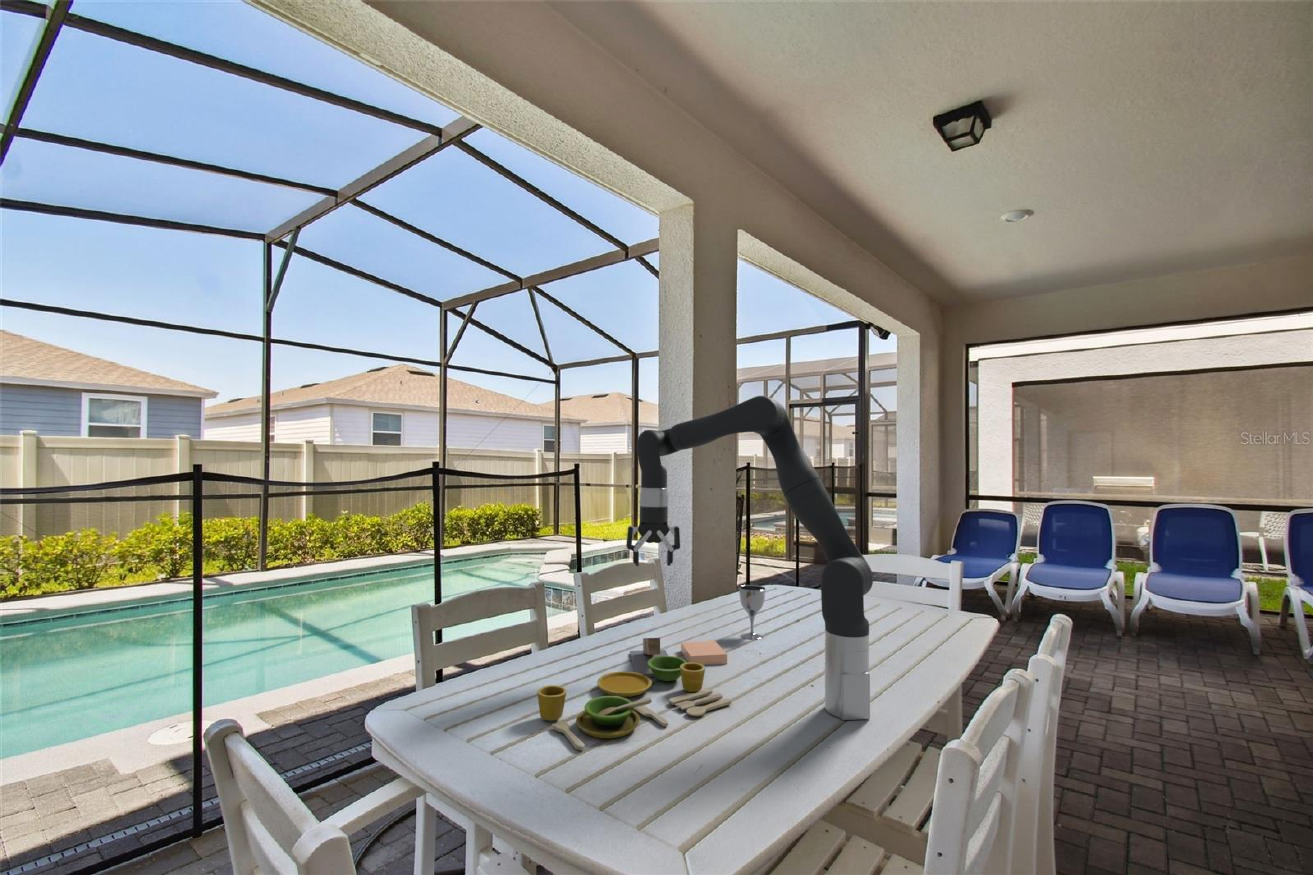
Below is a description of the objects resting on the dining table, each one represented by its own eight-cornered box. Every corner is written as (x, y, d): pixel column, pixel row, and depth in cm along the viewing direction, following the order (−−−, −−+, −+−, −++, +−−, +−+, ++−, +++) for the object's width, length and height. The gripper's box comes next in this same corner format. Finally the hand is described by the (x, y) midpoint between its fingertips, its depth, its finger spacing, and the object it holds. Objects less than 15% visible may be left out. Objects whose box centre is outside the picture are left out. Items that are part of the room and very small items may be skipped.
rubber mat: (675, 676, 148) (675, 672, 148) (636, 677, 147) (636, 674, 147) (665, 652, 166) (665, 649, 166) (630, 653, 165) (630, 650, 165)
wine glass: (766, 640, 178) (767, 590, 179) (740, 640, 178) (741, 590, 179) (762, 632, 186) (763, 585, 187) (737, 632, 186) (737, 584, 187)
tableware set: (572, 756, 107) (573, 721, 107) (517, 700, 130) (517, 672, 130) (741, 704, 131) (741, 675, 131) (668, 664, 154) (669, 640, 154)
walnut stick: (660, 654, 150) (660, 637, 151) (648, 654, 149) (648, 638, 151) (654, 653, 163) (653, 638, 164) (643, 653, 162) (643, 638, 164)
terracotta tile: (727, 654, 157) (715, 640, 169) (690, 656, 156) (681, 642, 168) (727, 665, 157) (714, 651, 169) (690, 667, 156) (681, 652, 167)
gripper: (628, 505, 153) (627, 568, 153) (682, 505, 155) (681, 567, 154) (626, 503, 161) (625, 563, 160) (677, 503, 162) (676, 562, 162)
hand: (652, 565), depth 157 cm, fingers open, 8 cm apart
